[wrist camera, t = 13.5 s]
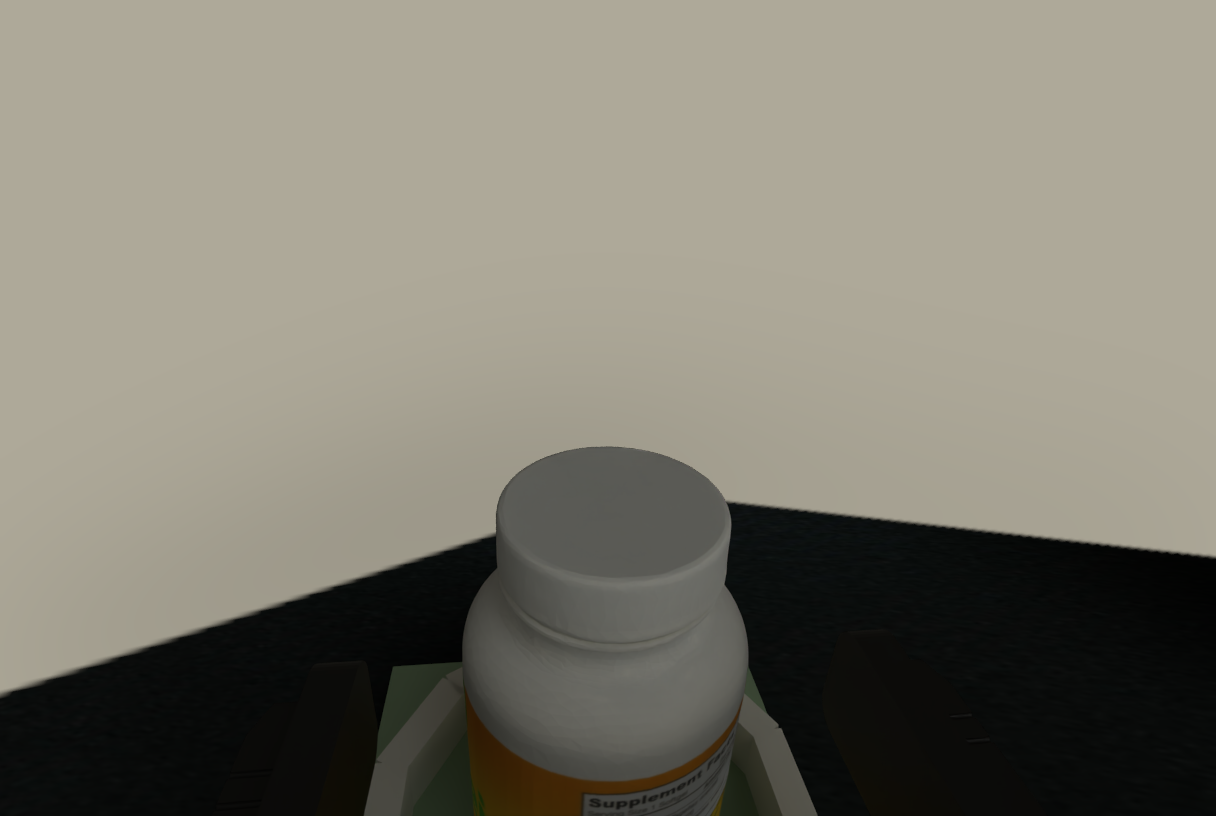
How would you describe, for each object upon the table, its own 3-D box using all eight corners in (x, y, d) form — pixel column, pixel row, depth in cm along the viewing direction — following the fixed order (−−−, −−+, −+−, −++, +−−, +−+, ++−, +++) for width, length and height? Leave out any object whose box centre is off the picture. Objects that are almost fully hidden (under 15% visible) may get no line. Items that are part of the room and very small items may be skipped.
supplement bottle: (462, 771, 16) (433, 445, 12) (652, 716, 18) (686, 414, 14) (501, 1034, 12) (478, 661, 7) (751, 927, 13) (847, 573, 9)
